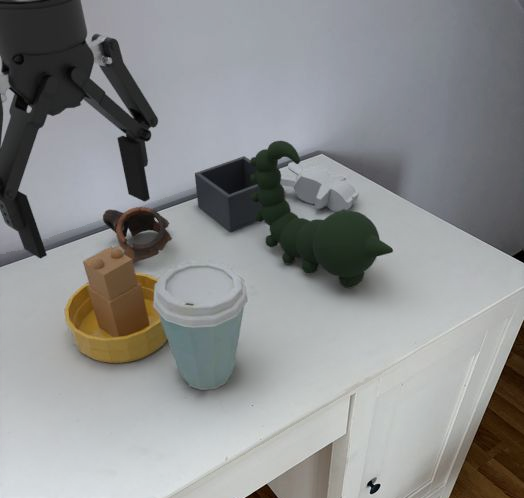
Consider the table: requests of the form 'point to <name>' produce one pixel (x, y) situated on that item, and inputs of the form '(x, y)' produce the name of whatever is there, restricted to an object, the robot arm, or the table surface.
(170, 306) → the disposable coffee cup
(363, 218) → the toy figurine
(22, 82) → the robot arm
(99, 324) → the tan stacked block
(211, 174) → the bin
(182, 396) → the table surface
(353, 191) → the bunny figurine
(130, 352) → the bowl
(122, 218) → the rusty brown ring frame
